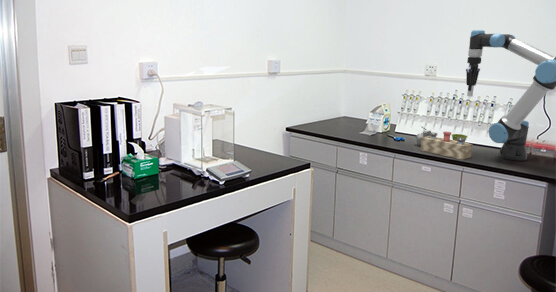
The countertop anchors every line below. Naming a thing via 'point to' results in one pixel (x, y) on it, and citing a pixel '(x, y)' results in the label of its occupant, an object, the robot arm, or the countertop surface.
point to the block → (446, 147)
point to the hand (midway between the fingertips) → (469, 96)
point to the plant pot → (458, 136)
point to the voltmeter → (424, 134)
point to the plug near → (460, 141)
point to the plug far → (433, 135)
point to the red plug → (446, 136)
